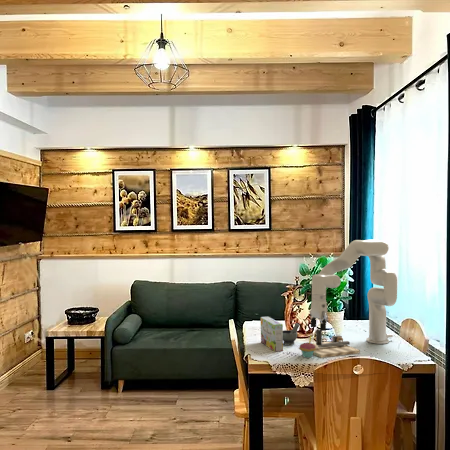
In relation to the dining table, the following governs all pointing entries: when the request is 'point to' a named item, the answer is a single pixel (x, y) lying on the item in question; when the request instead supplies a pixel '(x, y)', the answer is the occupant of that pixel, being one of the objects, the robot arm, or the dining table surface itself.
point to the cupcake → (307, 348)
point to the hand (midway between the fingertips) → (318, 328)
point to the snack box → (272, 333)
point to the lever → (320, 345)
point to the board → (334, 350)
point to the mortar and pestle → (290, 335)
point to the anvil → (335, 338)
